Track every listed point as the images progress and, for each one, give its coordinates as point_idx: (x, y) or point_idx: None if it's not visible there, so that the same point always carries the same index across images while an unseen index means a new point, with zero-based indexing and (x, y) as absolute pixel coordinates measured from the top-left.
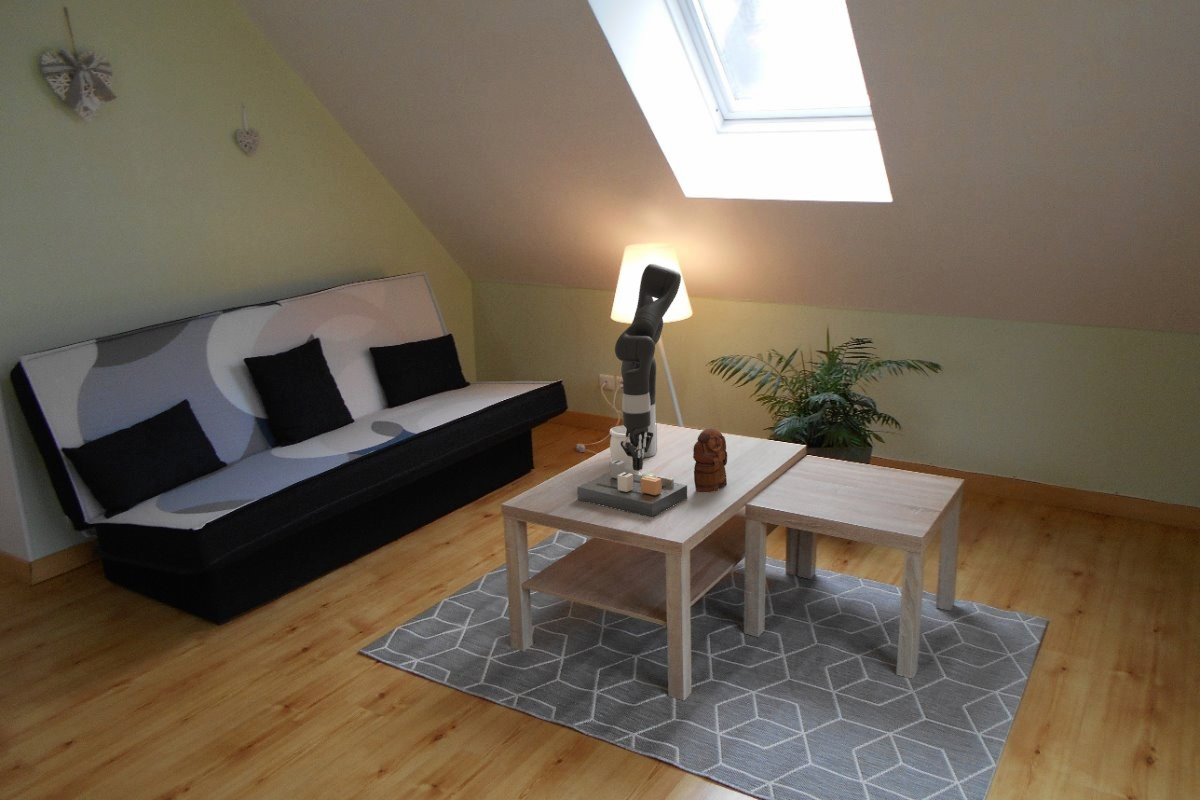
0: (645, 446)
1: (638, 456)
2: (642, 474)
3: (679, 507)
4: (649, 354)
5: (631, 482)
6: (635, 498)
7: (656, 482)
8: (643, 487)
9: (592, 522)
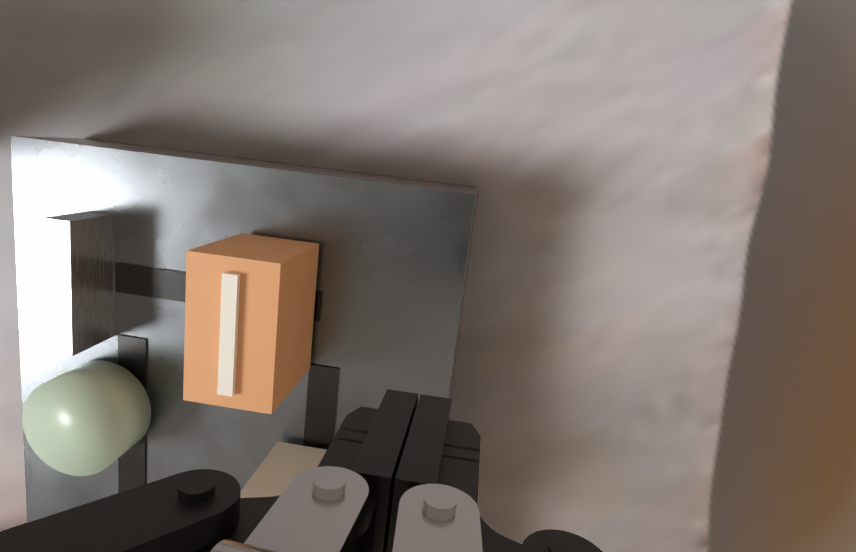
0: (226, 549)
1: (469, 510)
2: (83, 475)
3: (240, 110)
4: None
5: (280, 474)
6: (427, 353)
7: (270, 258)
8: (297, 361)
9: (698, 477)
